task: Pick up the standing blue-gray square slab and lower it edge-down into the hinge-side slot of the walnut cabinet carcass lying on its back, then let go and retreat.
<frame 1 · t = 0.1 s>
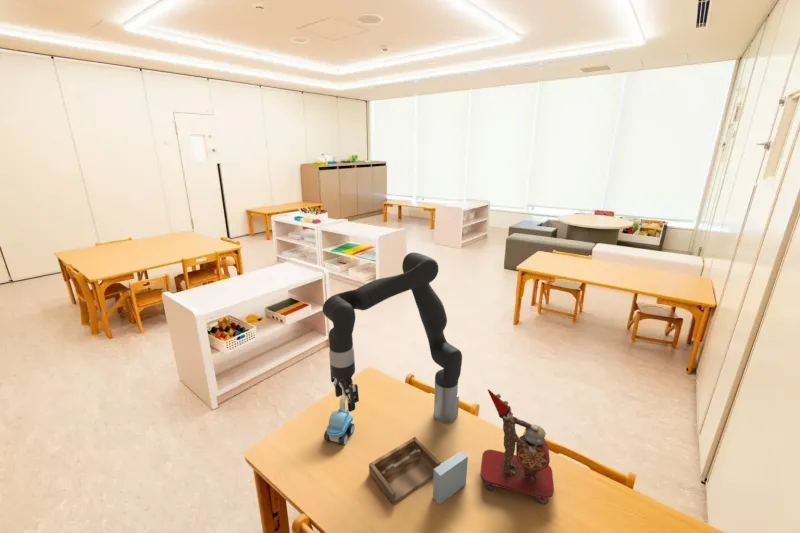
hand: (345, 402, 116), 29 cm above the table, fingers open, 8 cm apart
toy excavator: (343, 431, 143), on the table
blue-gray square slab: (449, 490, 118), on the table
carcass: (404, 473, 124), on the table
clown toy: (514, 482, 121), on the table
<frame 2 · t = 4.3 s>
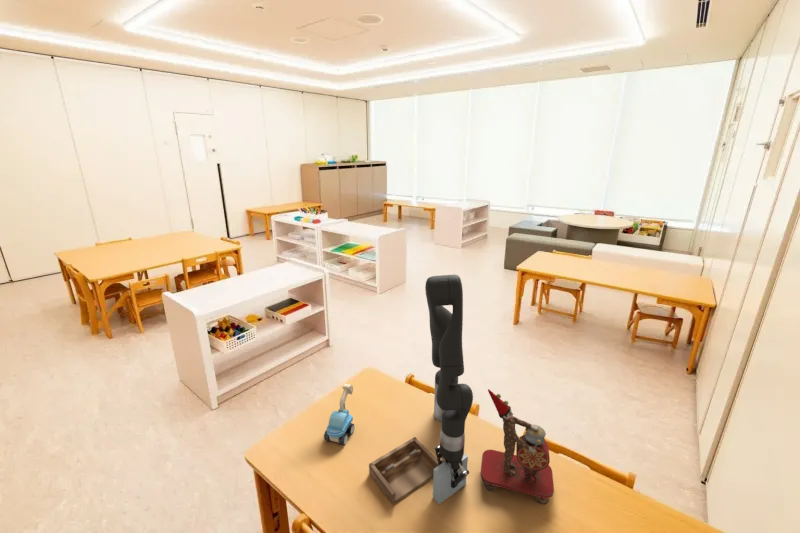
hand: (450, 482, 117), 4 cm above the table, fingers closed on blue-gray square slab, 3 cm apart
blue-gray square slab: (449, 490, 118), on the table, touching gripper
everything else where it was.
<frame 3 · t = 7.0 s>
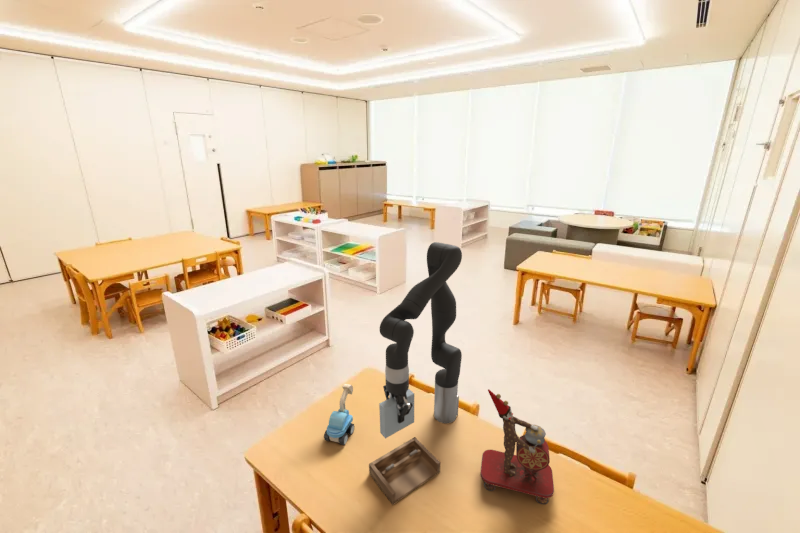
hand: (397, 418, 121), 21 cm above the table, fingers closed on blue-gray square slab, 3 cm apart
blue-gray square slab: (397, 427, 122), point 17 cm above the table, touching gripper
everything else where it was.
when the fingers open (6 cm above the table, at t = 9.9 s): blue-gray square slab stays where it is, resting on carcass.
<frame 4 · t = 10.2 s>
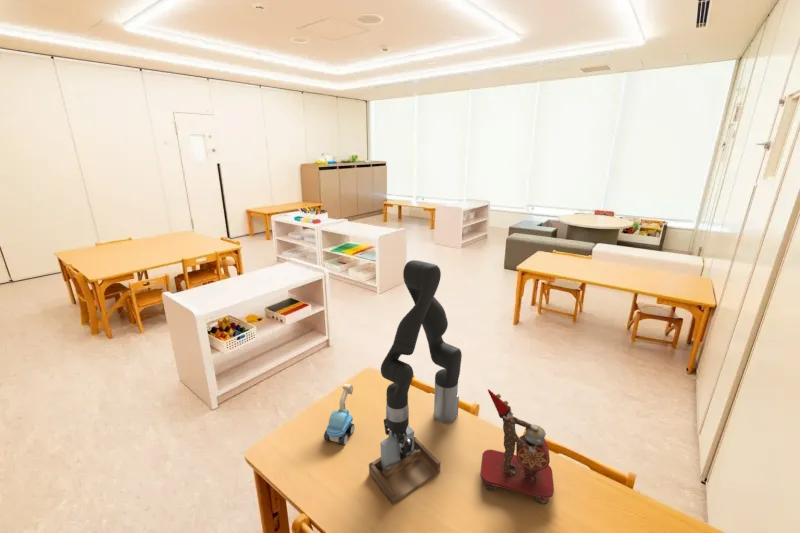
hand: (397, 452, 126), 6 cm above the table, fingers open, 5 cm apart
blue-gray square slab: (397, 463, 127), point 1 cm above the table, touching carcass
everything else where it was.
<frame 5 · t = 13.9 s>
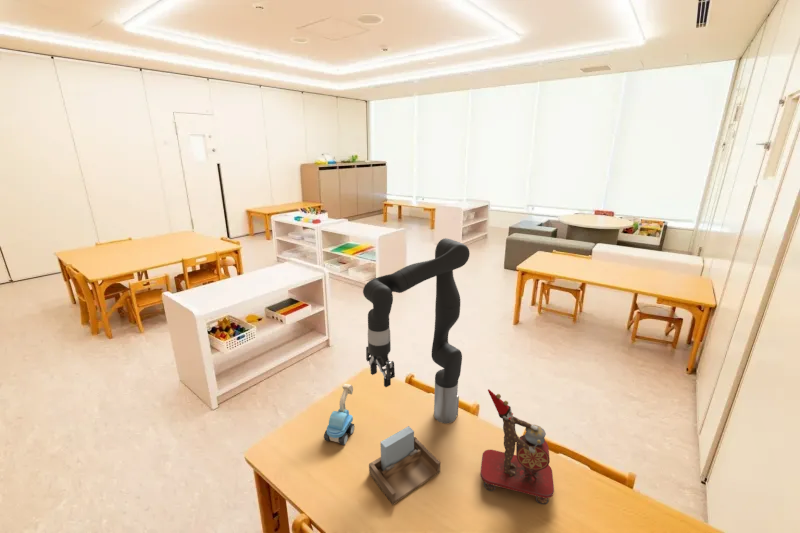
hand: (380, 379, 125), 30 cm above the table, fingers open, 8 cm apart
nothing on the table moved.
at the end: blue-gray square slab 0.0 cm from the target spot on the carcass, point 1.0 cm above the carcass's base; blue-gray square slab tilted 0°; the gripper is holding nothing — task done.
